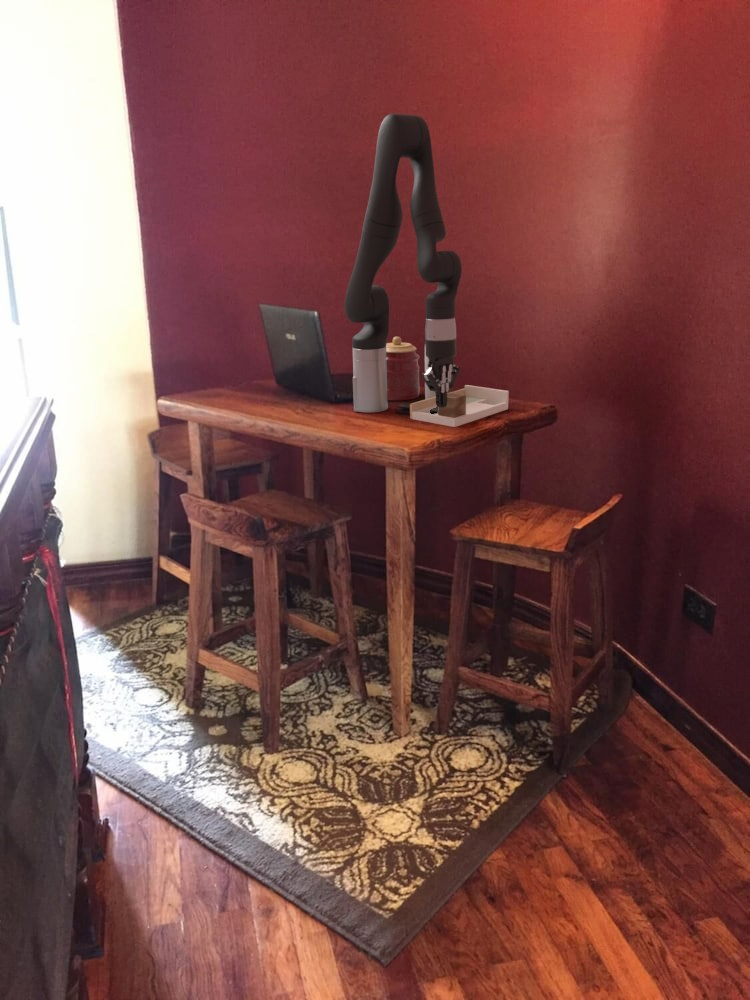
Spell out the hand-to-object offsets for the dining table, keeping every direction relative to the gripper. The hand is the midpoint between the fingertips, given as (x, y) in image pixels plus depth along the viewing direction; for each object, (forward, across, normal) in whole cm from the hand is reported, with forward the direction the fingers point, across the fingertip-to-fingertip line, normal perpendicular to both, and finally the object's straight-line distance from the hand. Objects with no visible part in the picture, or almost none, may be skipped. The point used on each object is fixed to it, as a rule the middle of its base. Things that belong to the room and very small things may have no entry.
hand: (441, 406), depth 195 cm
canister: (+5, +20, +32) cm, 38 cm away
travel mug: (+5, +20, +18) cm, 27 cm away
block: (+3, +5, 0) cm, 6 cm away
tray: (+5, +13, +4) cm, 15 cm away
